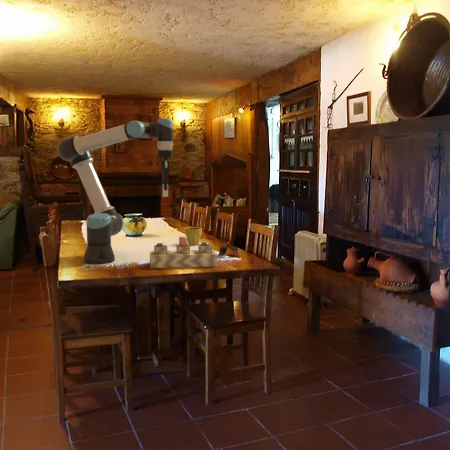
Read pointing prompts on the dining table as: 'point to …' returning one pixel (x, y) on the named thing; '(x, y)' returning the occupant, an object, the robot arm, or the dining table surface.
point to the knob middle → (182, 241)
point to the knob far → (204, 244)
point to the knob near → (160, 245)
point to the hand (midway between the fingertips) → (165, 196)
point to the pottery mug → (225, 247)
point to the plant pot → (193, 235)
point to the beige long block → (183, 257)
